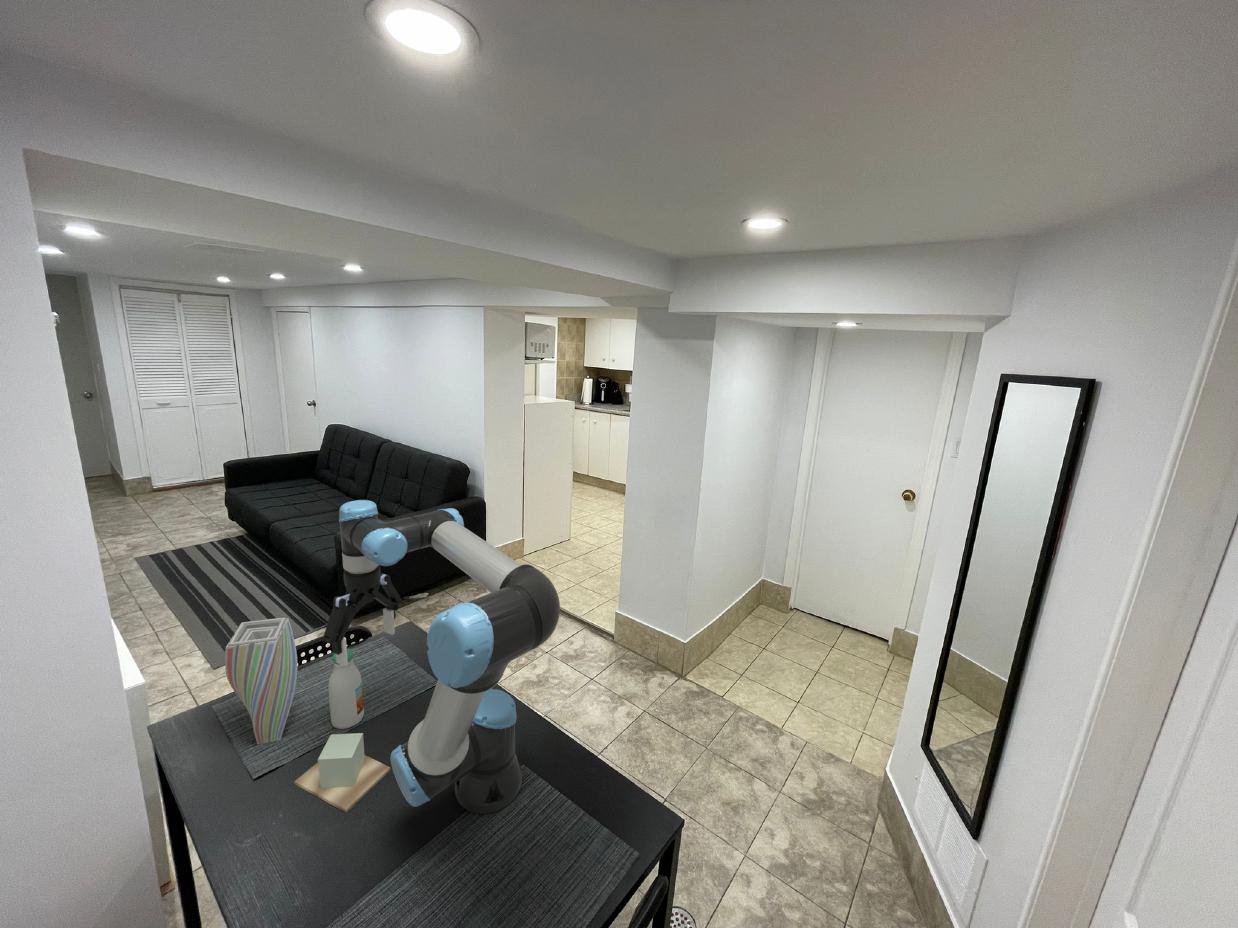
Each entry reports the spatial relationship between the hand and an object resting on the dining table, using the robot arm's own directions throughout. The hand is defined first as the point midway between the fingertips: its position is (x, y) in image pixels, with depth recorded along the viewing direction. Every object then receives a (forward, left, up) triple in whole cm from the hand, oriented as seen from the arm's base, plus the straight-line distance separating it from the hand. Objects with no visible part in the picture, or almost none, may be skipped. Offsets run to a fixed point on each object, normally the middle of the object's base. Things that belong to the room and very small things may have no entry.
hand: (367, 647), depth 119 cm
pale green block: (-3, +11, -26) cm, 28 cm away
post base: (-3, +11, -27) cm, 29 cm away
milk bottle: (+11, -2, -27) cm, 29 cm away
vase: (+23, +10, -27) cm, 37 cm away
